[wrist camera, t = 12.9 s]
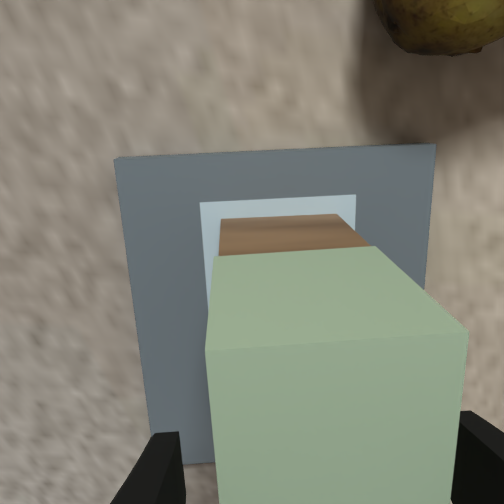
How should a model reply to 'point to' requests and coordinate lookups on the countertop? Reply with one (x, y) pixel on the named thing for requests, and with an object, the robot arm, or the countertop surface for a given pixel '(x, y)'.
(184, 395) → the board
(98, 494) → the countertop surface
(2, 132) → the countertop surface
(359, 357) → the green brick
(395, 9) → the potato
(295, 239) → the walnut brick
